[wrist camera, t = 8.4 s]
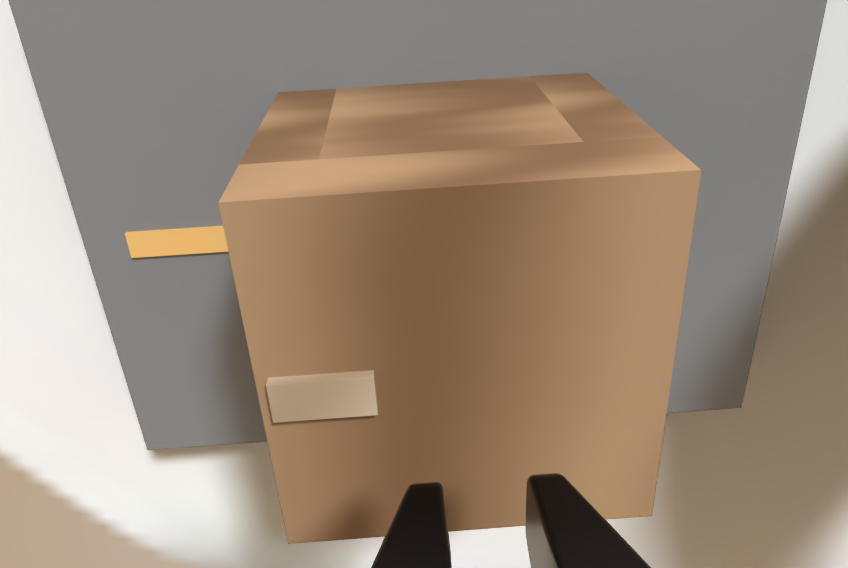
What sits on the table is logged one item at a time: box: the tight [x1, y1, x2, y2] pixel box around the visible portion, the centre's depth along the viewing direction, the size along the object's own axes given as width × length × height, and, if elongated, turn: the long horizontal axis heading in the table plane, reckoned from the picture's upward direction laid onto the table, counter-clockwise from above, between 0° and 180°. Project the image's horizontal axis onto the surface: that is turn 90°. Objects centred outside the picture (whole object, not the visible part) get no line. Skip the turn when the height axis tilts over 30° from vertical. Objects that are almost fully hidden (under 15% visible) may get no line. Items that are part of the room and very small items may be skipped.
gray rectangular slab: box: [9, 0, 827, 450], centre depth 17 cm, size 16×12×2 cm
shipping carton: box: [218, 73, 701, 544], centre depth 13 cm, size 6×6×6 cm
